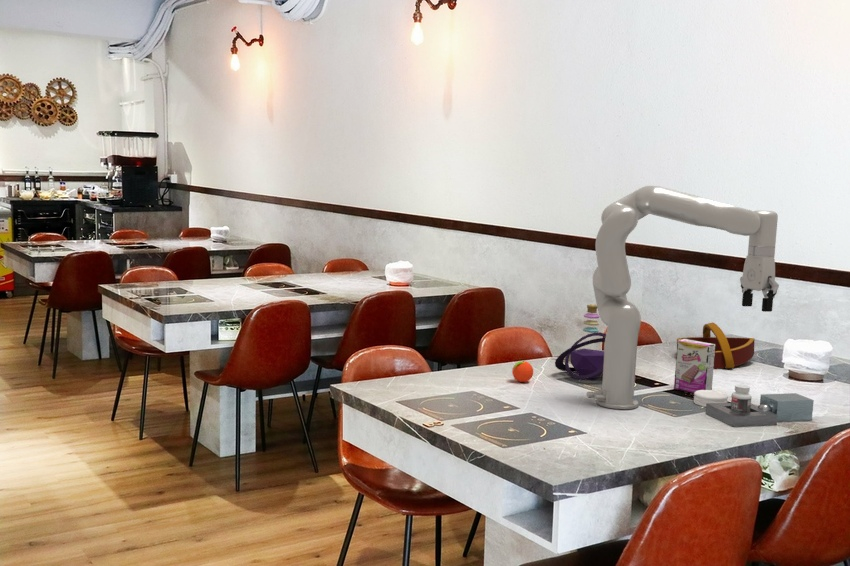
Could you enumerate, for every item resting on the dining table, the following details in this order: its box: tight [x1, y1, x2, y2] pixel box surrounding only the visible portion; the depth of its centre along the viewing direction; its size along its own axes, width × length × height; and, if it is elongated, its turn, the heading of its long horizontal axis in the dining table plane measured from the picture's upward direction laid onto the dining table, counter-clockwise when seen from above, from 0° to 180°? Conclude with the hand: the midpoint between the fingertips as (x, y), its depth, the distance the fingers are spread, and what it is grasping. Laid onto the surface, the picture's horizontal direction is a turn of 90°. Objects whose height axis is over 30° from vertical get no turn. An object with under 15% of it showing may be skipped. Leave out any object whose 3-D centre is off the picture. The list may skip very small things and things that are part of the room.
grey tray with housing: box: [705, 392, 815, 428], centre depth 258 cm, size 28×14×6 cm, turn 105°
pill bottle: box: [730, 384, 752, 413], centre depth 256 cm, size 5×5×10 cm
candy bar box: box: [673, 339, 715, 394], centre depth 287 cm, size 11×5×16 cm, turn 47°
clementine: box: [511, 360, 534, 383], centre depth 293 cm, size 8×7×7 cm
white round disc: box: [693, 389, 729, 408], centre depth 273 cm, size 10×10×4 cm
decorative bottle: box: [554, 303, 606, 380], centre depth 302 cm, size 22×21×25 cm
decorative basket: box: [676, 321, 755, 370], centre depth 338 cm, size 34×29×15 cm
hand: (756, 308), depth 267 cm, fingers open, 9 cm apart
